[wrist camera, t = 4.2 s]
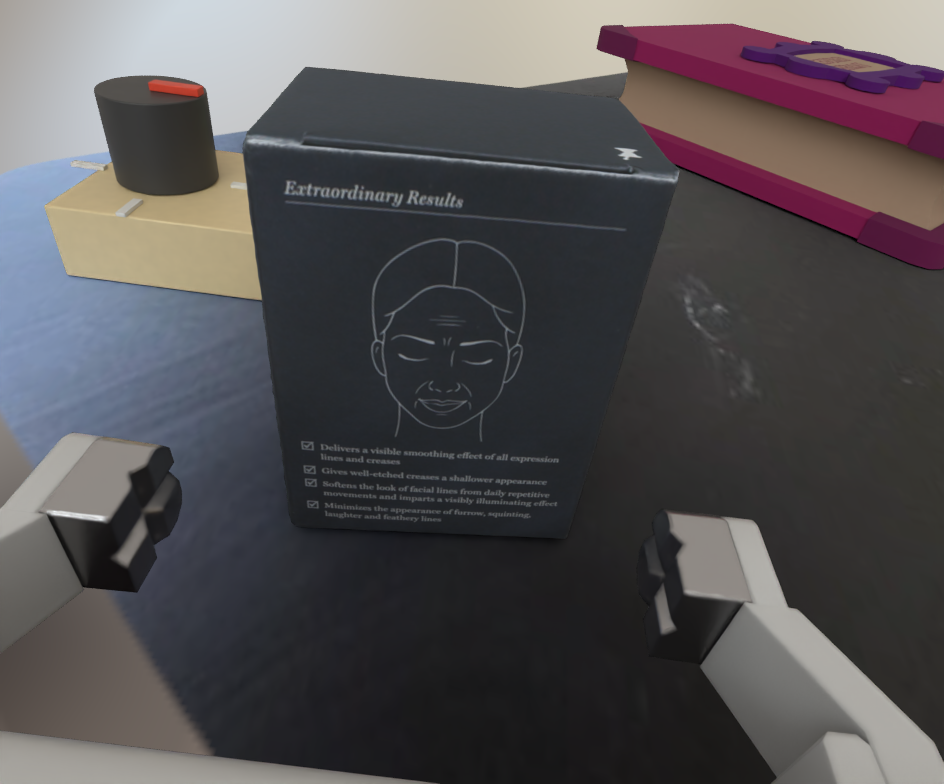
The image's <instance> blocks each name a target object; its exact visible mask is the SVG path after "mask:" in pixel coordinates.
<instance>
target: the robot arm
mask: <svg viewBox="0 0 944 784" xmlns="http://www.w3.org/2000/svg"><path fill="white" fill-rule="evenodd" d="M173 463H174V460H173V457H172V454H171V451H170V448H169V447H165V446H162V445H155V444H149V443H142V442H136V441H129V440H123V439H116V438H110V437H101V436H94V435H87V434H80V433H74V432H72V433H70V434H68V435H66V436H64V437H62V438H61V439H60V440H59V442H58V443H57V444H56V445H55V446H54V447H53V449H52V450H51V451H50V452H49V453H48V454H47V455H46V457H45V458H44V459H43V460H42V461H41V462H40V464H39V465H38V466H37V467H36V468H35V469H34V471H33V472H32V473H31V474H30V475H29V476H28V478H27V479H26V480H25V481H24V482H23V483H22V484H21V486H20V487H19V488H18V489H17V490H16V492H15V493H14V494H13V495H12V496H11V497H10V498H9V500H8V501H7V502H6V503H5V504H4V506H2V508H0V654H1V653H2V652H3V651H5V650H6V649H7V648H9V647H10V646H11V645H13V644H14V643H15V642H17V641H18V640H19V639H21V638H22V637H23V636H24V635H25V634H27V633H28V632H30V631H31V630H32V629H34V628H35V627H36V626H38V625H39V624H40V623H41V622H43V621H44V620H45V619H47V618H48V617H49V616H51V615H52V614H53V613H55V612H56V611H57V610H59V609H60V608H61V607H62V606H64V605H65V604H67V603H68V602H69V601H70V600H72V599H73V598H74V597H76V596H77V595H78V594H79V593H81V592H82V591H83V590H84V589H83V587H86V588H96V589H106V590H116V591H127V592H138V591H139V589H140V587H141V585H142V583H143V582H144V580H145V578H146V576H147V575H148V573H149V571H150V569H151V568H152V566H153V564H154V562H155V560H156V559H157V556H156V552H155V548H154V545H155V544H157V543H158V542H160V541H161V540H163V539H164V538H166V537H168V536H169V535H170V533H171V532H172V530H173V528H174V526H175V524H176V522H177V520H178V516H179V512H180V509H181V505H182V490H181V486H180V482H179V480H178V479H177V478H176V477H175V476H174V475H172V474H171V473H170V472H169V470H170V468H171V466H172V465H173ZM652 526H653V532H654V535H652V536H650V537H649V538H647V539H645V540H644V542H643V544H642V547H641V549H640V552H639V556H638V563H637V585H638V592H639V595H640V596H641V598H642V599H643V600H644V601H645V602H646V604H647V605H648V606H649V608H648V609H647V611H646V613H645V615H644V617H643V623H644V629H645V635H646V641H647V647H648V653H649V657H656V658H662V659H669V660H675V661H682V662H689V663H695V664H701V666H700V668H701V669H702V671H703V672H704V674H705V675H706V676H707V678H708V679H709V681H710V682H711V684H712V685H713V686H714V688H715V689H716V691H717V692H718V694H719V695H720V696H721V698H722V699H723V701H724V702H725V704H726V705H727V707H728V708H729V709H730V711H731V712H732V714H733V715H734V717H735V718H736V719H737V721H738V722H739V724H740V725H741V727H742V728H743V729H744V731H745V732H746V734H747V735H748V737H749V738H750V739H751V741H752V742H753V744H754V745H755V747H756V748H757V749H758V751H759V752H760V754H761V755H762V757H763V758H764V759H765V761H766V762H767V764H768V765H769V767H770V768H771V770H772V771H773V772H774V774H775V775H776V777H777V778H776V779H775V780H774V781H773V782H772V783H771V784H944V762H943V760H942V758H941V756H940V754H939V752H938V750H937V748H936V745H935V743H934V742H933V741H932V740H931V739H930V738H929V737H928V736H927V735H926V734H925V733H924V732H923V731H922V730H921V729H920V728H919V727H918V726H917V725H916V724H915V723H914V722H913V721H912V720H911V719H910V718H909V717H908V716H907V715H905V714H904V713H903V712H902V711H901V710H900V709H899V708H898V707H897V706H896V705H895V704H894V703H893V702H892V701H891V700H890V699H889V698H888V697H887V696H886V695H885V694H884V693H883V692H882V691H881V690H880V689H879V688H878V687H877V686H876V685H875V684H874V683H873V682H872V681H871V680H870V679H869V678H868V677H867V676H866V675H865V674H863V673H862V672H861V671H860V670H859V669H858V668H857V667H856V666H855V665H854V664H853V663H852V662H851V661H850V660H849V659H848V658H847V657H846V656H845V655H844V654H843V653H842V652H841V651H840V650H839V649H838V648H837V647H836V646H835V645H834V644H833V643H832V642H831V641H830V640H829V639H828V638H827V637H826V636H825V635H824V634H823V633H822V632H820V631H819V630H818V629H817V628H816V627H815V626H814V625H813V624H812V623H811V622H810V621H809V620H808V619H807V618H806V617H805V616H804V615H803V614H802V613H801V612H800V611H799V610H798V609H793V608H788V605H787V603H786V600H785V597H784V595H783V592H782V589H781V587H780V584H779V581H778V579H777V576H776V573H775V571H774V568H773V565H772V563H771V560H770V557H769V555H768V552H767V549H766V547H765V544H764V541H763V539H762V536H761V533H760V531H759V528H758V526H757V524H756V523H755V522H754V521H753V520H747V519H739V518H731V517H723V516H722V517H720V516H717V515H709V514H700V513H691V512H683V511H674V510H666V509H661V510H660V511H659V512H658V513H657V514H656V516H655V518H654V520H653V522H652ZM0 784H438V783H430V782H422V781H413V780H405V779H397V778H389V777H381V776H372V775H364V774H356V773H348V772H339V771H331V770H323V769H315V768H306V767H298V766H290V765H282V764H273V763H265V762H257V761H249V760H240V759H232V758H224V757H216V756H207V755H198V754H191V753H182V752H174V751H166V750H158V749H149V748H140V747H132V746H124V745H116V744H108V743H99V742H91V741H83V740H75V739H66V738H58V737H50V736H42V735H34V734H25V733H16V732H9V731H1V730H0Z"/></svg>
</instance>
